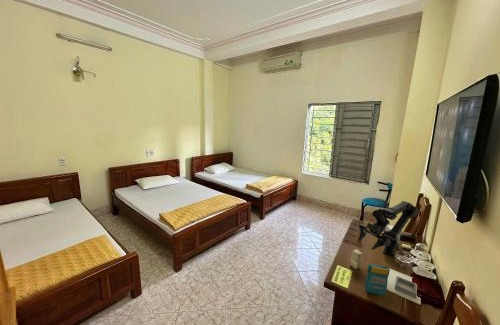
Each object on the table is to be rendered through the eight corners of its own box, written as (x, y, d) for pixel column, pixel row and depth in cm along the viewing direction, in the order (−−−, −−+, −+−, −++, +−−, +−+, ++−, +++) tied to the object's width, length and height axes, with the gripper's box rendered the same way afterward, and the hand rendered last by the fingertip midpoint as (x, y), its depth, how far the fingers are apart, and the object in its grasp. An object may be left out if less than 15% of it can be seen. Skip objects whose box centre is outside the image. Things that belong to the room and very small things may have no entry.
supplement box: (395, 241, 159) (398, 226, 156) (398, 246, 152) (401, 231, 149) (383, 239, 161) (386, 224, 159) (386, 244, 154) (389, 229, 152)
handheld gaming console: (383, 291, 112) (388, 266, 108) (386, 297, 108) (391, 272, 105) (363, 287, 114) (368, 263, 111) (365, 293, 110) (370, 268, 107)
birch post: (354, 263, 133) (356, 249, 131) (359, 267, 129) (362, 253, 127) (349, 264, 131) (352, 250, 129) (355, 269, 128) (357, 254, 125)
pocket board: (389, 269, 128) (389, 264, 128) (420, 281, 119) (421, 276, 119) (385, 289, 113) (386, 284, 112) (420, 304, 104) (421, 299, 103)
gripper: (362, 212, 137) (347, 231, 135) (390, 226, 121) (375, 247, 118) (368, 221, 142) (354, 239, 140) (396, 235, 126) (381, 256, 123)
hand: (365, 245), depth 130 cm, fingers open, 9 cm apart
